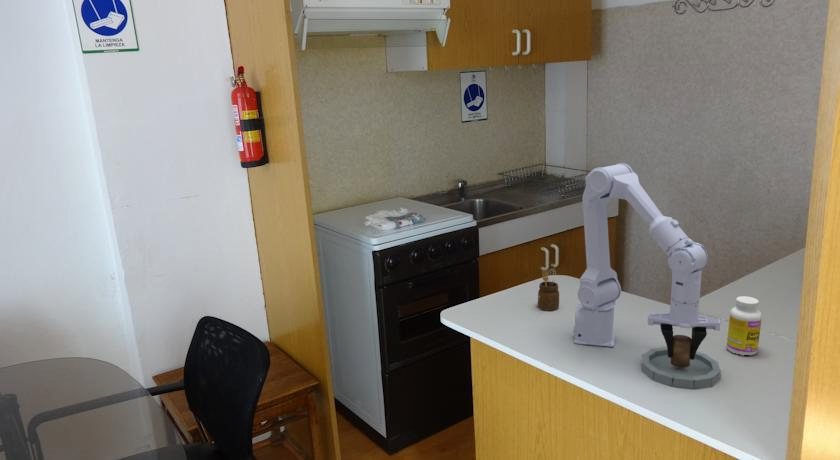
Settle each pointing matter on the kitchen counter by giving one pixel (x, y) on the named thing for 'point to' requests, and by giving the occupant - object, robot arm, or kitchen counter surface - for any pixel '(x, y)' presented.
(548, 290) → the utensil holder
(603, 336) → the robot arm
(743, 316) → the supplement bottle
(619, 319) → the kitchen counter surface
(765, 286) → the kitchen counter surface
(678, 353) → the walnut cylinder
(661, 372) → the slate dish
